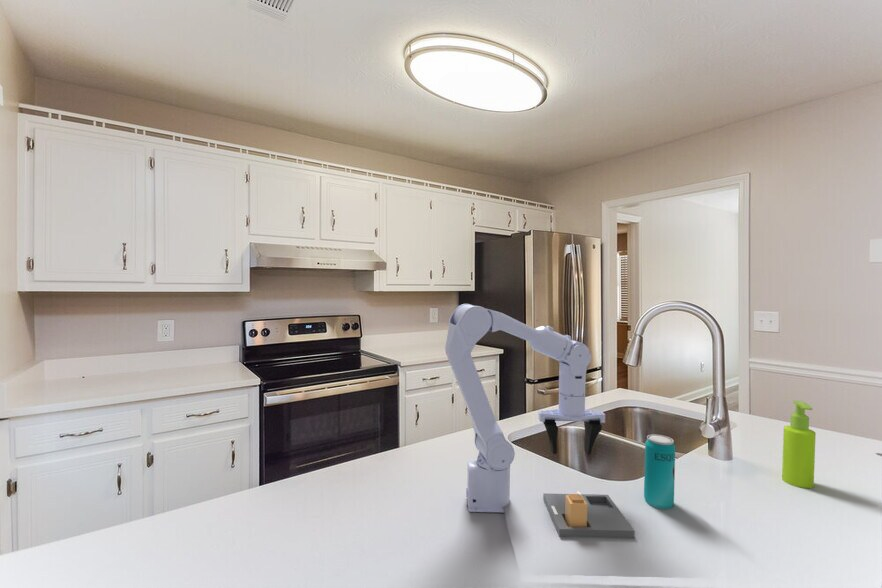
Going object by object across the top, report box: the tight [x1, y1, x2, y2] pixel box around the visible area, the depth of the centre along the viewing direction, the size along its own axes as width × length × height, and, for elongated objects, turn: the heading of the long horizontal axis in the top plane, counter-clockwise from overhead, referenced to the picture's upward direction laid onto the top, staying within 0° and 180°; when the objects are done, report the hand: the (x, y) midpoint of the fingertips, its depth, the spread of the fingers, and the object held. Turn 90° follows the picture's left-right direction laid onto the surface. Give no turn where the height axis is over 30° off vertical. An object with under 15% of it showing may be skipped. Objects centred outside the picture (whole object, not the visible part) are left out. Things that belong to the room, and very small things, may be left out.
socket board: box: [542, 490, 636, 539], centre depth 84 cm, size 14×14×2 cm
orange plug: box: [565, 493, 587, 527], centre depth 80 cm, size 3×3×6 cm
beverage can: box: [643, 433, 676, 510], centre depth 89 cm, size 6×6×15 cm
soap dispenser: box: [781, 400, 817, 489], centre depth 100 cm, size 6×7×20 cm
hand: (570, 452), depth 93 cm, fingers open, 7 cm apart
